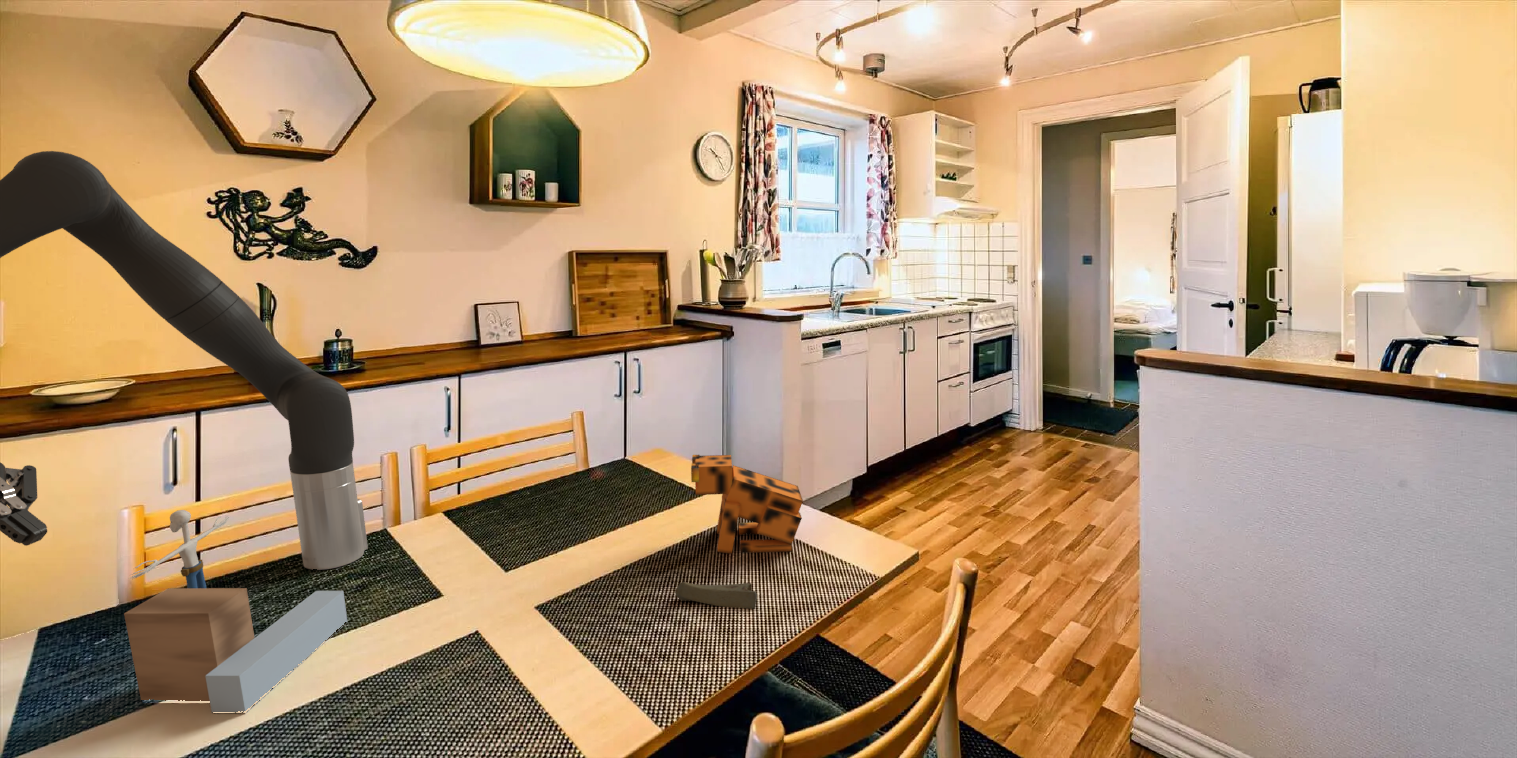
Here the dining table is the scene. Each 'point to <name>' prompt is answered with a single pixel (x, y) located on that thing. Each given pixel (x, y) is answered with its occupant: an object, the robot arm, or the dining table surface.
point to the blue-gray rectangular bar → (275, 652)
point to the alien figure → (185, 550)
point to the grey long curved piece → (719, 594)
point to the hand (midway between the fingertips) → (38, 538)
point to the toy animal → (749, 504)
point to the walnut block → (186, 639)
